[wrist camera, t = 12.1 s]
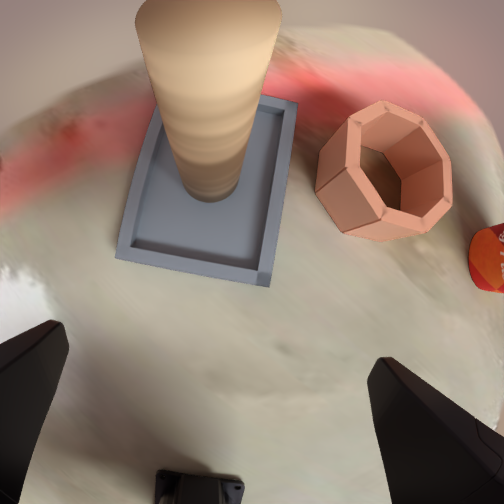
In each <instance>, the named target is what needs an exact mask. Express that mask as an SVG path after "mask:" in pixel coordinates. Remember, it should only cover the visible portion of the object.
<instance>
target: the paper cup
mask: <svg viewBox="0 0 504 504" xmlns="http://www.w3.org/2000/svg"><path fill="white" fill-rule="evenodd" d="M468 260H469V270H470V274H471V277H472V280H473V282H474V283H475V285H476V286H477V287H478V288H480V289H482V290H485V291H491V292H497V293H504V223H502V224H498V225H495V226H492V227H488V228H485V229H482V230H480V231H478V232H477V233H476V234H475V235H474V237H473V238H472V241H471V244H470V248H469V257H468Z"/></svg>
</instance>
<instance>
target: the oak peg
mask: <svg viewBox="0 0 504 504" xmlns="http://www.w3.org/2000/svg"><path fill="white" fill-rule="evenodd" d="M281 20H282V11H281V8H280V6H279V4H278V2H277V1H276V0H146V1H145V2H144V3H143V5H142V6H141V7H140V9H139V11H138V12H137V15H136V18H135V26H136V30H137V34H138V38H139V42H140V46H141V49H142V53H143V57H144V60H145V64H146V68H147V71H148V75H149V78H150V82H151V85H152V88H153V92H154V95H155V98H156V102H157V105H158V108H159V112H160V115H161V118H162V121H163V125H164V128H165V131H166V134H167V137H168V140H169V144H170V147H171V150H172V153H173V156H174V159H175V162H176V165H177V168H178V171H179V174H180V177H181V180H182V183H183V186H184V188H185V190H186V191H187V193H188V194H189V195H190V196H191V197H193V198H194V199H196V200H198V201H201V202H205V203H214V202H219V201H222V200H224V199H226V198H227V197H228V196H230V195H231V194H232V193H233V192H234V190H235V189H236V187H237V185H238V181H239V177H240V173H241V169H242V165H243V161H244V157H245V153H246V149H247V145H248V141H249V137H250V133H251V129H252V125H253V121H254V118H255V114H256V110H257V106H258V102H259V99H260V95H261V91H262V87H263V84H264V80H265V76H266V73H267V69H268V66H269V62H270V58H271V55H272V51H273V48H274V44H275V41H276V37H277V34H278V30H279V27H280V24H281Z"/></svg>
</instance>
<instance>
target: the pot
mask: <svg viewBox="0 0 504 504" xmlns="http://www.w3.org/2000/svg"><path fill="white" fill-rule="evenodd" d="M361 146H364V147H367V148H370V149H373V150H376V151H379V152H382V153H383V154H384V155H385V157H386V158H387V160H388V161H389V162H390V164H391V165H392V167H393V168H394V170H395V171H396V173H397V175H398V176H399V178H400V179H401V205H400V211H398V210H395V209H392V208H389V207H386V205H385V204H384V202H383V201H382V199H381V197H380V196H379V194H378V193H377V191H376V190H375V188H374V187H373V185H372V184H371V182H370V181H369V179H368V178H367V176H366V175H365V173H364V172H363V171H362V169H361V168H360V148H361ZM449 159H450V157H449V156H448V154H447V152H446V151H445V149H444V148H443V146H442V144H441V143H440V141H439V140H438V138H437V137H436V135H435V134H434V132H433V131H432V129H431V128H430V126H429V125H428V123H427V122H426V121H425V119H423V117H421V116H419V115H417V114H415V113H413V112H410V111H408V110H406V109H404V108H402V107H399V106H397V105H395V104H392V103H390V102H388V101H385V100H383V101H382V100H380V101H378V102H376V103H374V104H372V105H370V106H368V107H366V108H364V109H362V110H360V111H358V112H356V113H354V114H352V115H351V116H349V117H348V118H347V119H346V120H345V122H344V123H343V124H342V125H341V126H340V128H339V129H338V130H337V131H336V132H335V133H334V135H333V136H332V137H331V138H330V139H329V140H328V142H327V143H326V144H325V145H324V146H323V148H322V149H321V150H320V151H319V160H318V169H317V177H316V186H315V192H317V193H316V196H317V197H318V199H319V200H320V202H321V203H322V204H323V206H324V207H325V209H326V210H327V212H328V213H329V215H330V216H331V218H332V219H333V221H334V222H335V224H336V225H337V227H338V228H339V230H340V231H341V232H343V233H344V234H348V235H353V236H357V237H361V238H366V239H370V240H374V241H378V242H383V241H388V240H393V239H398V238H403V237H408V236H413V235H418V234H423V233H427V232H428V231H429V230H430V229H431V228H432V227H433V225H434V224H435V223H436V222H437V221H438V220H439V219H440V218H441V217H442V216H443V215H444V214H445V213H446V212H447V211H448V210H449V209H450V208H451V207H452V171H451V160H449Z"/></svg>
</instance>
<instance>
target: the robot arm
mask: <svg viewBox="0 0 504 504" xmlns="http://www.w3.org/2000/svg"><path fill="white" fill-rule="evenodd" d="M68 352H69V343H68V339H67V336H66V332H65V328H64V325H63V324H62V323H61V322H59V321H55V320H48V321H46V322H44V323H42V324H40V325H38V326H36V327H34V328H31V329H29V330H27V331H25V332H23V333H21V334H19V335H17V336H15V337H13V338H11V339H9V340H7V341H5V342H3V343H1V344H0V504H18V503H19V500H20V496H21V492H22V488H23V484H24V480H25V477H26V473H27V470H28V467H29V463H30V460H31V457H32V454H33V451H34V448H35V445H36V442H37V439H38V436H39V434H40V431H41V428H42V425H43V423H44V420H45V418H46V415H47V412H48V410H49V407H50V405H51V402H52V400H53V397H54V395H55V392H56V389H57V386H58V383H59V379H60V376H61V373H62V370H63V367H64V364H65V361H66V358H67V355H68ZM367 386H368V391H369V397H370V403H371V410H372V416H373V423H374V428H375V432H376V436H377V440H378V444H379V448H380V452H381V456H382V460H383V464H384V469H385V473H386V477H387V482H388V487H389V491H390V496H391V501H392V504H504V437H503V436H501V435H500V434H498V433H497V432H495V431H494V430H492V429H491V428H489V427H488V426H486V425H485V424H483V423H482V422H481V421H479V420H478V419H475V417H474V416H472V415H471V414H470V413H468V412H467V411H465V410H464V409H463V408H461V407H460V406H459V405H457V404H456V403H454V402H453V401H452V400H450V399H449V398H447V397H446V396H445V395H443V394H442V393H441V392H439V391H438V390H436V389H435V388H434V387H432V386H431V385H430V384H428V383H427V382H425V381H424V380H423V379H421V378H420V377H418V376H417V375H416V374H414V373H413V372H412V371H410V370H409V369H407V368H406V367H405V366H403V365H402V364H401V363H399V362H398V361H397V360H395V359H394V358H392V357H380V358H379V359H377V361H376V363H375V365H374V367H373V369H372V370H371V372H370V374H369V376H368V380H367ZM161 475H164V476H165V477H163V476H161ZM236 486H239V487H236ZM244 489H245V486H244V483H243V482H242V481H239V480H228V479H218V478H210V477H202V476H195V475H189V474H183V473H177V472H172V471H167V470H158V471H157V474H156V488H155V504H241V500H242V496H243V493H244Z"/></svg>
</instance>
